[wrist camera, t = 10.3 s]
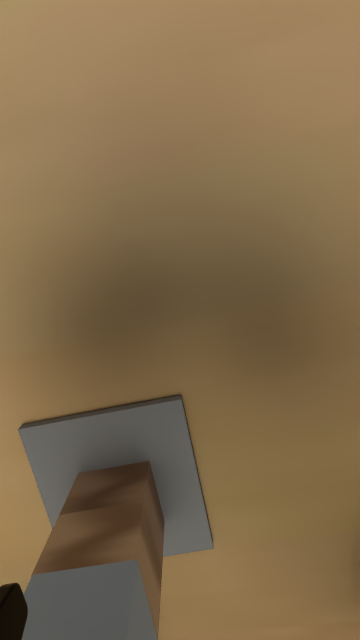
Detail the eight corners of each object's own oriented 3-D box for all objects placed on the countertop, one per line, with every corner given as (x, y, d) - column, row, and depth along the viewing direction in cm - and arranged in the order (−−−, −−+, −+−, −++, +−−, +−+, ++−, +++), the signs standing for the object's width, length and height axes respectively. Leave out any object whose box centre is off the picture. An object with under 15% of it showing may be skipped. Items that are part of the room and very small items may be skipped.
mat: (181, 395, 21) (181, 399, 21) (212, 541, 24) (213, 548, 23) (22, 424, 22) (18, 429, 21) (70, 564, 24) (67, 572, 24)
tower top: (143, 500, 18) (135, 558, 15) (162, 569, 19) (158, 639, 16) (58, 515, 18) (31, 576, 15) (82, 582, 19) (60, 653, 16)
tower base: (149, 460, 22) (143, 500, 18) (164, 521, 23) (161, 569, 19) (78, 473, 22) (58, 515, 18) (96, 532, 23) (81, 582, 19)
